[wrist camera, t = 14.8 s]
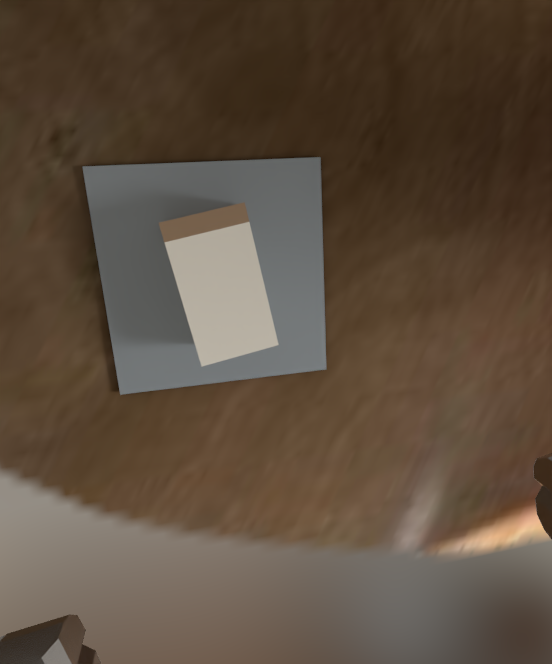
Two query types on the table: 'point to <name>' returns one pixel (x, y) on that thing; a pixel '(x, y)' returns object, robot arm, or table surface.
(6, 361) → the table surface
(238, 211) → the cream block
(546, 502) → the robot arm
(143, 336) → the slate mat
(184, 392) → the table surface
